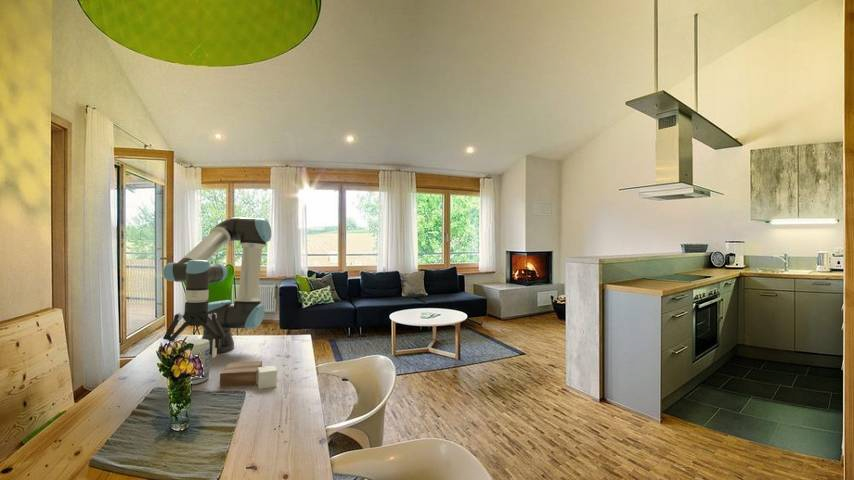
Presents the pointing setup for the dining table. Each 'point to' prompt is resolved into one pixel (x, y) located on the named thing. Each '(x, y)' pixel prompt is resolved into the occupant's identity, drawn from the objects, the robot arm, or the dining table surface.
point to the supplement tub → (201, 357)
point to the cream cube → (267, 376)
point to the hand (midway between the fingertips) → (194, 357)
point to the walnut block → (240, 374)
